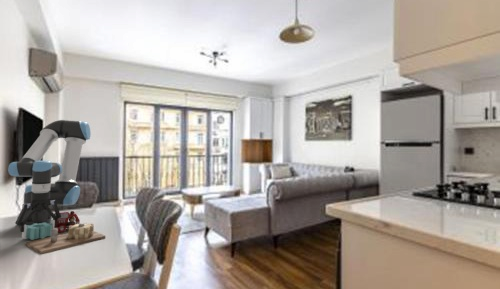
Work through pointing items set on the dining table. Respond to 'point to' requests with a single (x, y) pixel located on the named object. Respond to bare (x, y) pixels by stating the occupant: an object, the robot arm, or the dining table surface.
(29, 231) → the teal gear
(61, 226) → the toy fire truck
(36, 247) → the gear board
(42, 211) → the robot arm
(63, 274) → the dining table surface
